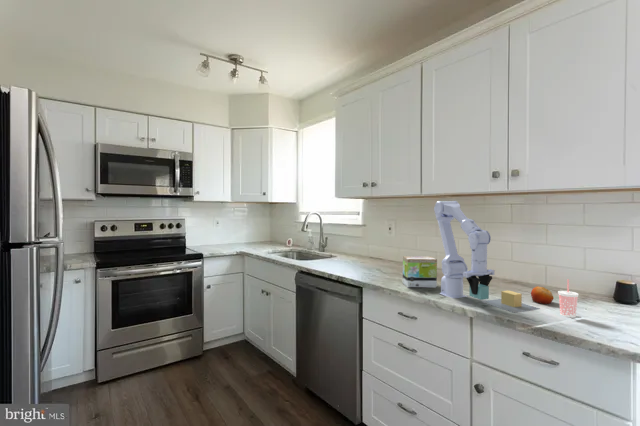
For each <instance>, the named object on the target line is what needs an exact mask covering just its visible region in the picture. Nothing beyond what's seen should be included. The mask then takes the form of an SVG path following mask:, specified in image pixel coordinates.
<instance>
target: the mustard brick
mask: <svg viewBox="0 0 640 426" xmlns="http://www.w3.org/2000/svg"><path fill="white" fill-rule="evenodd" d="M500 292H501V295H500V299H501V303H502V304H505V305H508V306H511V307H520V306H522V303H523V302H522V301H523V300H522V297H523V296H522V293H519V292H516V291H512V290H509V289H507V290H503V291H502V290H501V291H500Z"/></svg>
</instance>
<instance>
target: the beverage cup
mask: <svg viewBox="0 0 640 426" xmlns="http://www.w3.org/2000/svg"><path fill="white" fill-rule="evenodd" d="M566 280H567V285H566V286H567V288H566V290H558V291H557V294H558V301H559V314H560V316H563V317H566V318H572V320H575V319H576V317H577V307H578V297H579V292H575V291H570V279H569V278H567V279H566Z"/></svg>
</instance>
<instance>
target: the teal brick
mask: <svg viewBox="0 0 640 426" xmlns="http://www.w3.org/2000/svg"><path fill="white" fill-rule="evenodd" d="M468 291H469V293H468V294H469V295H468V296H469V297H472V298H475V299H479V300H480V301H482V300H483V301H484V300H490V298H489V297H490V295H489V294H490V286H489V285H488V286H486V285H482V284H480V283H479V284H478V293H477V295H475V294H472V291H471V288H470V287H469V290H468Z"/></svg>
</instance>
